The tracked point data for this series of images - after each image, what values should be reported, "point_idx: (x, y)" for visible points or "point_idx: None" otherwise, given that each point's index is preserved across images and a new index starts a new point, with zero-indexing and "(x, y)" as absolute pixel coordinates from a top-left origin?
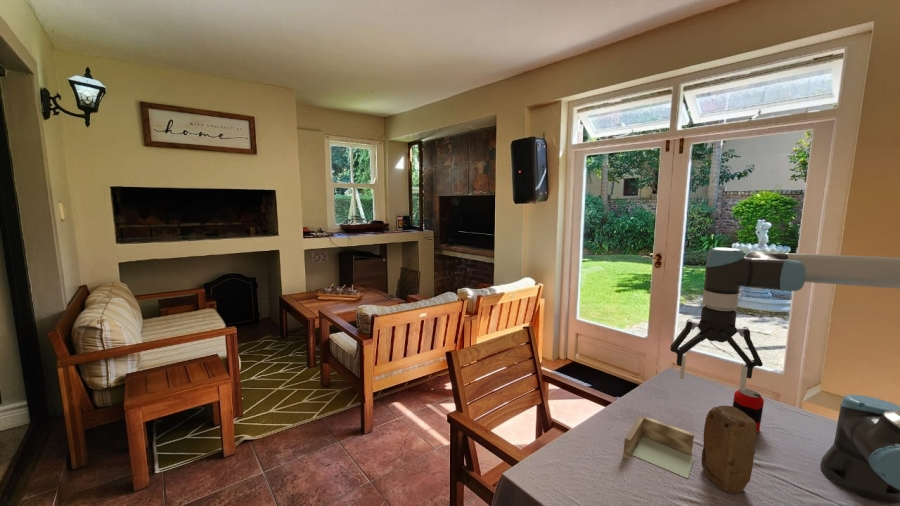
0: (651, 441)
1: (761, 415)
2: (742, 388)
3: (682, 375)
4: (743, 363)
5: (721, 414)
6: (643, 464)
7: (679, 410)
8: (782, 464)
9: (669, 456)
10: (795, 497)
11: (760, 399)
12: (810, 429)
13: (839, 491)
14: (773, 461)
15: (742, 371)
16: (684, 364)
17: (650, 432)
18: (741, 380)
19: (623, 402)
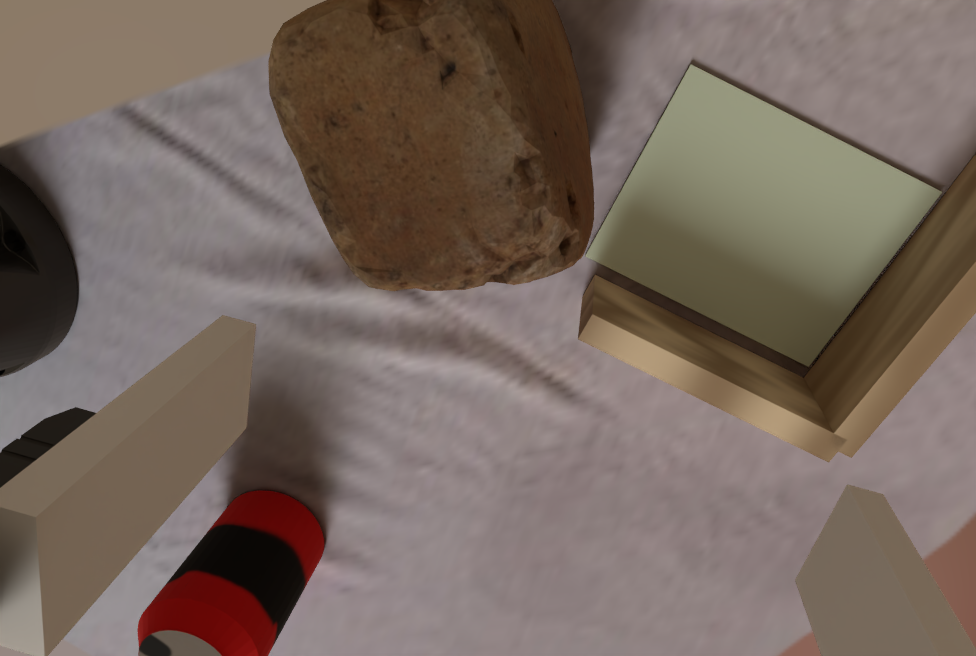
0: (771, 336)
1: (187, 557)
2: (234, 334)
3: (882, 518)
4: (29, 638)
5: (525, 123)
6: (902, 124)
7: (521, 607)
8: (209, 299)
9: (719, 228)
10: (229, 73)
11: (150, 622)
12: None
13: (54, 171)
14: (238, 311)
15: (120, 504)
16: (946, 652)
17: (776, 377)
18: (199, 421)
19: (792, 638)
